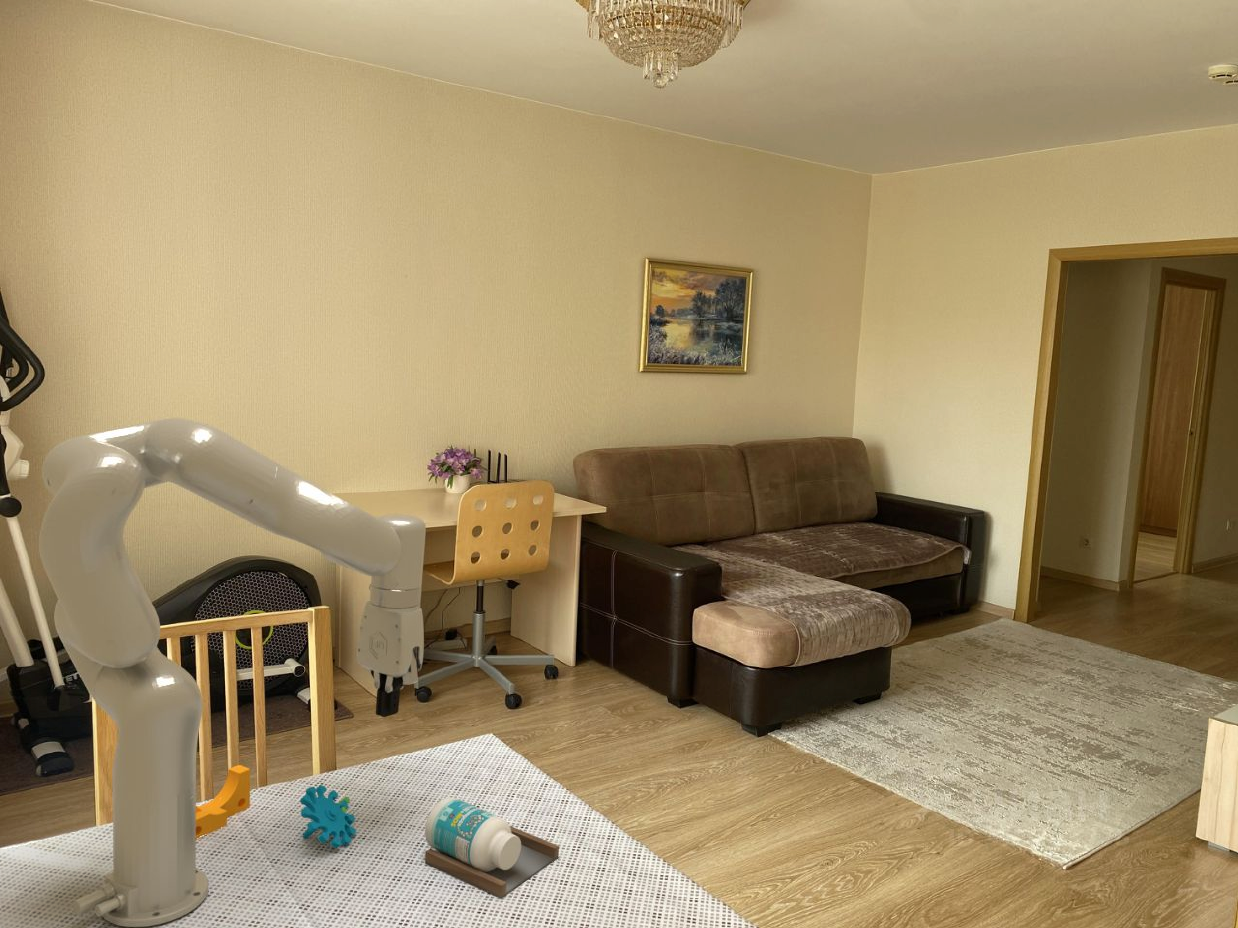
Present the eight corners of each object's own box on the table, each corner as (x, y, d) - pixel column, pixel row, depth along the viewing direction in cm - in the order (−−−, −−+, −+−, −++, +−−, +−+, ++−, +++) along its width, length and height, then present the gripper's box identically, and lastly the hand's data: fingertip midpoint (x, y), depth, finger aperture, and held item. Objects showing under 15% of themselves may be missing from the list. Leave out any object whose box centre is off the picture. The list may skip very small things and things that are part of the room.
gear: (335, 852, 131) (295, 794, 133) (305, 877, 132) (266, 818, 133) (372, 825, 142) (335, 772, 143) (345, 848, 142) (308, 794, 144)
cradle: (501, 898, 125) (501, 885, 125) (425, 863, 132) (425, 851, 132) (558, 857, 136) (559, 845, 136) (485, 826, 143) (485, 815, 143)
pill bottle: (458, 787, 139) (528, 816, 132) (458, 833, 140) (527, 864, 133) (422, 808, 133) (493, 839, 125) (421, 855, 134) (492, 890, 127)
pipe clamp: (188, 844, 134) (188, 802, 133) (169, 835, 136) (169, 793, 135) (257, 811, 144) (257, 771, 144) (238, 803, 147) (238, 764, 146)
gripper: (342, 590, 142) (334, 707, 143) (412, 610, 134) (403, 733, 135) (379, 584, 148) (371, 695, 150) (449, 602, 140) (439, 720, 142)
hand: (386, 713), depth 143 cm, fingers closed
